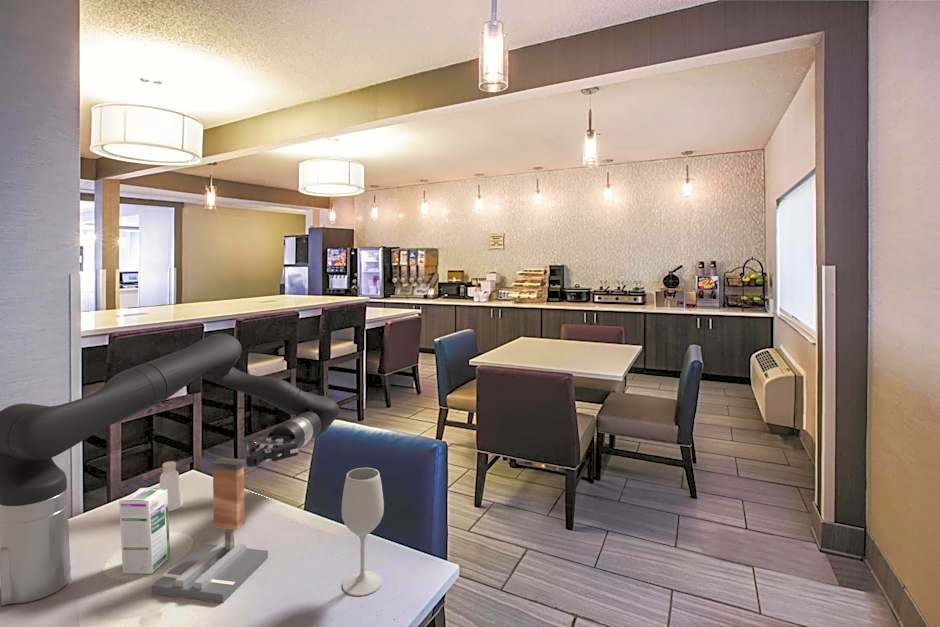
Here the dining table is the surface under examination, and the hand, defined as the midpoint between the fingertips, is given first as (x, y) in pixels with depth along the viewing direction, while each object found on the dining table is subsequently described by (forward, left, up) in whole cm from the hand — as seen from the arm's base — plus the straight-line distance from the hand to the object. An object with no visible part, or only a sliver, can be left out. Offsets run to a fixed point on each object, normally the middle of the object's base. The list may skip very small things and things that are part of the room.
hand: (250, 462), depth 105 cm
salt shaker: (-11, +28, -17) cm, 35 cm away
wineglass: (+11, -28, -17) cm, 35 cm away
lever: (-5, -5, -15) cm, 17 cm away
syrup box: (-19, +3, -17) cm, 26 cm away
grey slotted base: (-9, -8, -17) cm, 21 cm away
